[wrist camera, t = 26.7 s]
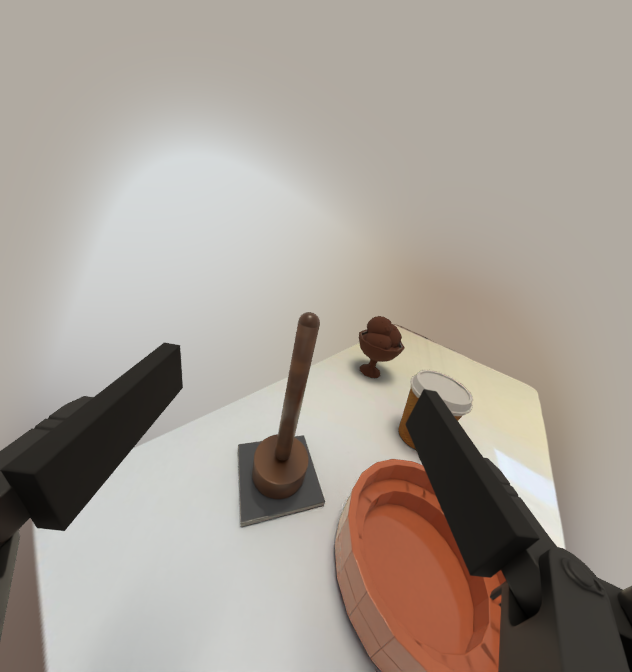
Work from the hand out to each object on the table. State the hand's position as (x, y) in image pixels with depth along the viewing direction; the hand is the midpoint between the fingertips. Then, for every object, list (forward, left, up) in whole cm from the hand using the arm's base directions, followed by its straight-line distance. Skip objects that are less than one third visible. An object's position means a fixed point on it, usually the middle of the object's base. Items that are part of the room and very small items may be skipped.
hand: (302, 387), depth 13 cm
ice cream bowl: (+31, +31, -23) cm, 50 cm away
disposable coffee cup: (+29, +11, -23) cm, 39 cm away
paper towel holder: (+3, +9, -22) cm, 24 cm away
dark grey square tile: (+3, +9, -23) cm, 25 cm away
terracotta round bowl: (+15, -4, -23) cm, 28 cm away
